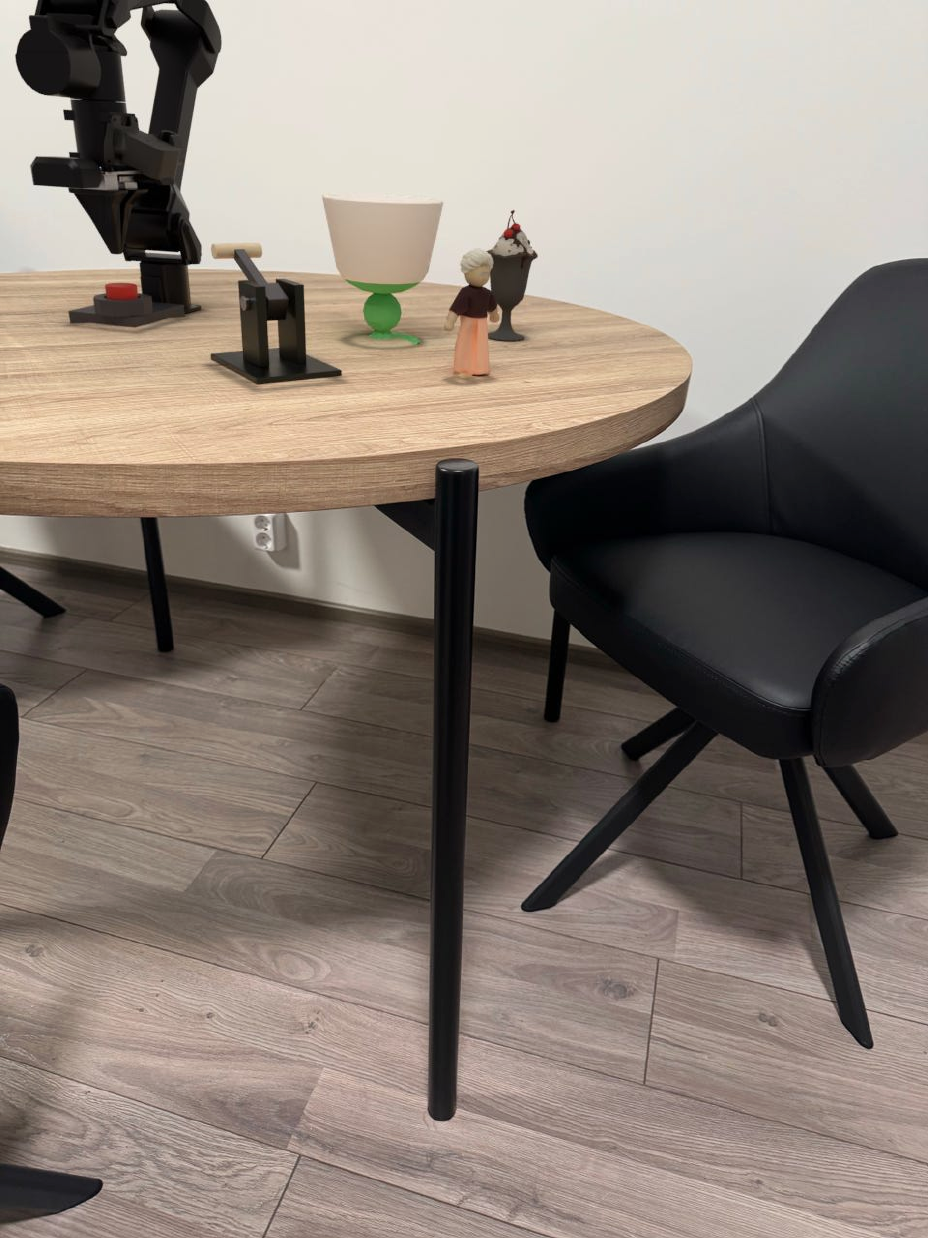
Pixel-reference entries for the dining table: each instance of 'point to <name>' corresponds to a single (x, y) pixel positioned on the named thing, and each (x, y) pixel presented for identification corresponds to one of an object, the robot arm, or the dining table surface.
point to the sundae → (510, 276)
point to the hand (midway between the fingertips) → (116, 253)
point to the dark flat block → (125, 311)
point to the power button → (121, 291)
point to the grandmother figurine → (473, 315)
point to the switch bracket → (256, 355)
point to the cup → (382, 249)
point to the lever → (254, 275)
